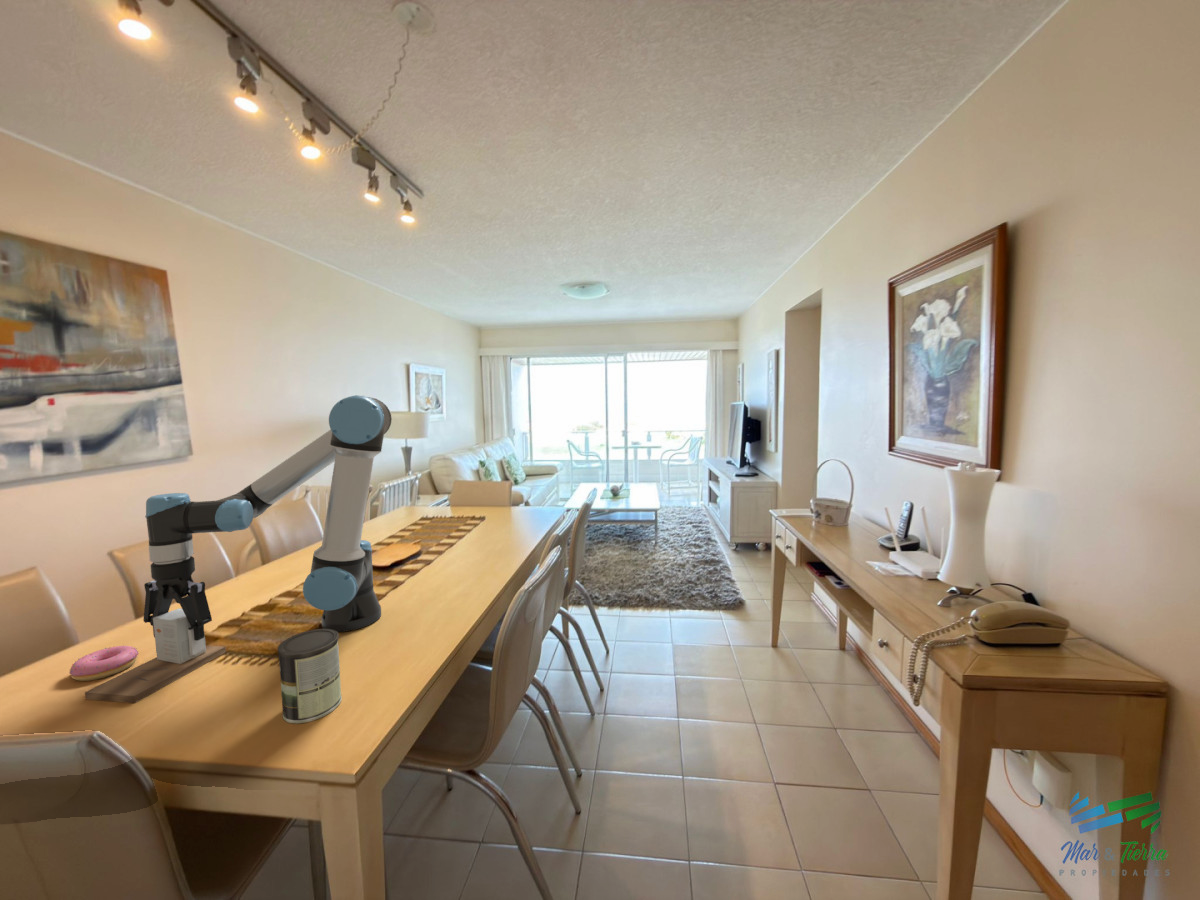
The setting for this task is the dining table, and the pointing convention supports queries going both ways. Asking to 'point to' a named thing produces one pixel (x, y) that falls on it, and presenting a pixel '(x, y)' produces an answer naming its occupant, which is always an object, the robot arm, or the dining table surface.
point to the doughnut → (103, 663)
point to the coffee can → (310, 675)
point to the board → (149, 678)
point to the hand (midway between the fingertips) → (180, 651)
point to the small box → (173, 637)
